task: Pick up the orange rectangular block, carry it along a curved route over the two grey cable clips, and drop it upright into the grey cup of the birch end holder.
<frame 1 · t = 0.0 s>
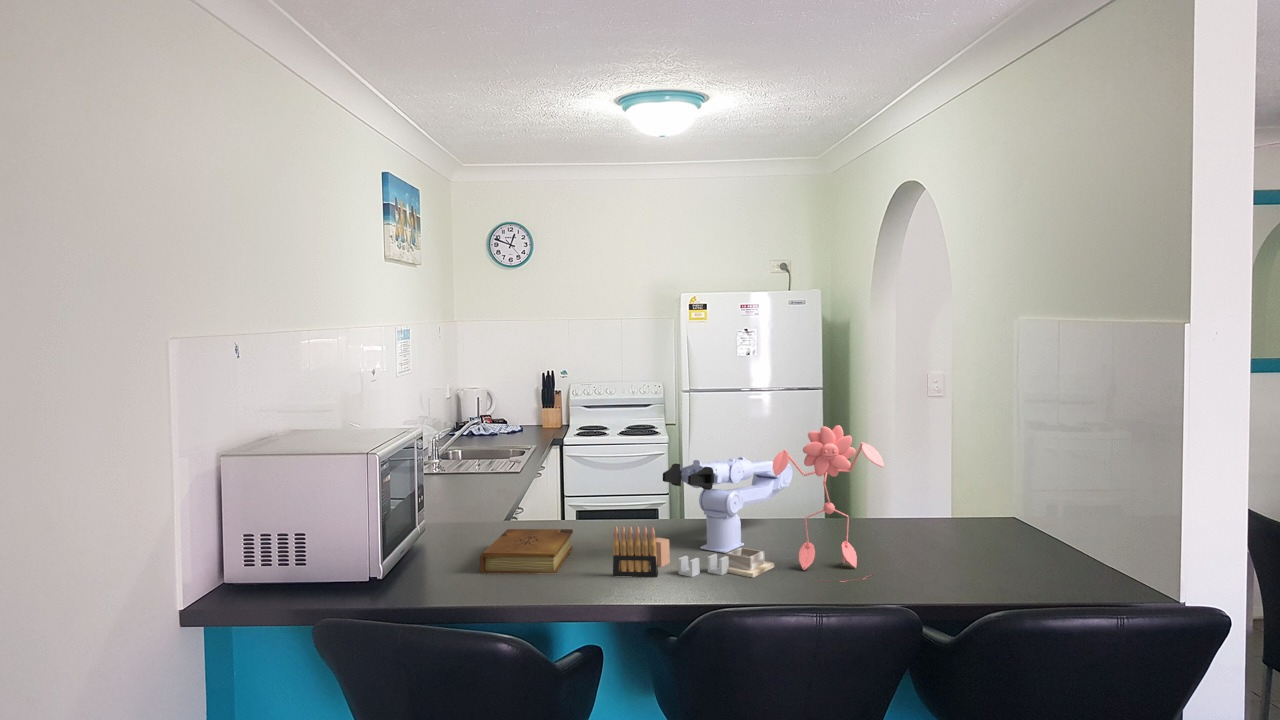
hand: (676, 478, 210), 22 cm above the countertop, tool horizontal, fingers open, 7 cm apart
diary: (529, 562, 220), on the countertop
cable clips: (703, 573, 205), on the countertop
end holder: (745, 568, 207), on the countertop
figurine: (830, 572, 203), on the countertop
orange rectangular block: (659, 563, 213), on the countertop
ammunition clip: (635, 576, 204), on the countertop
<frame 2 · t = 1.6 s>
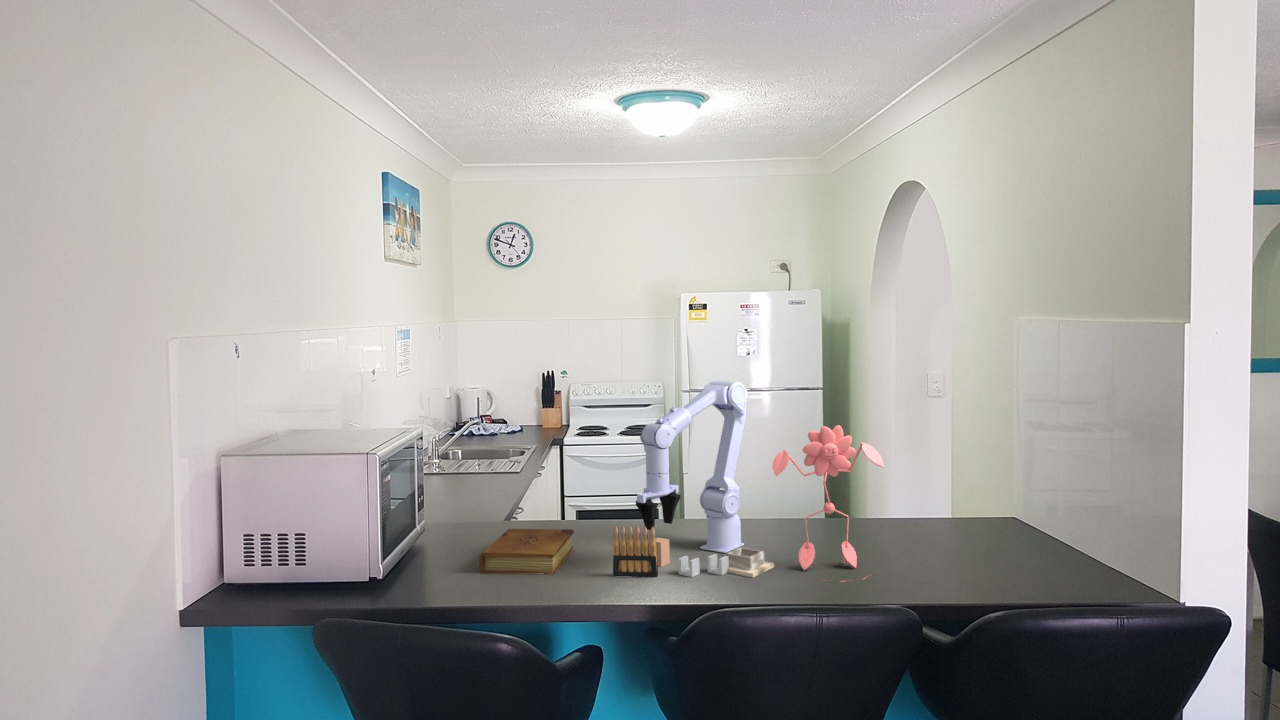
hand: (659, 526, 213), 9 cm above the countertop, tool pointing down, fingers open, 7 cm apart
nothing on the countertop moved.
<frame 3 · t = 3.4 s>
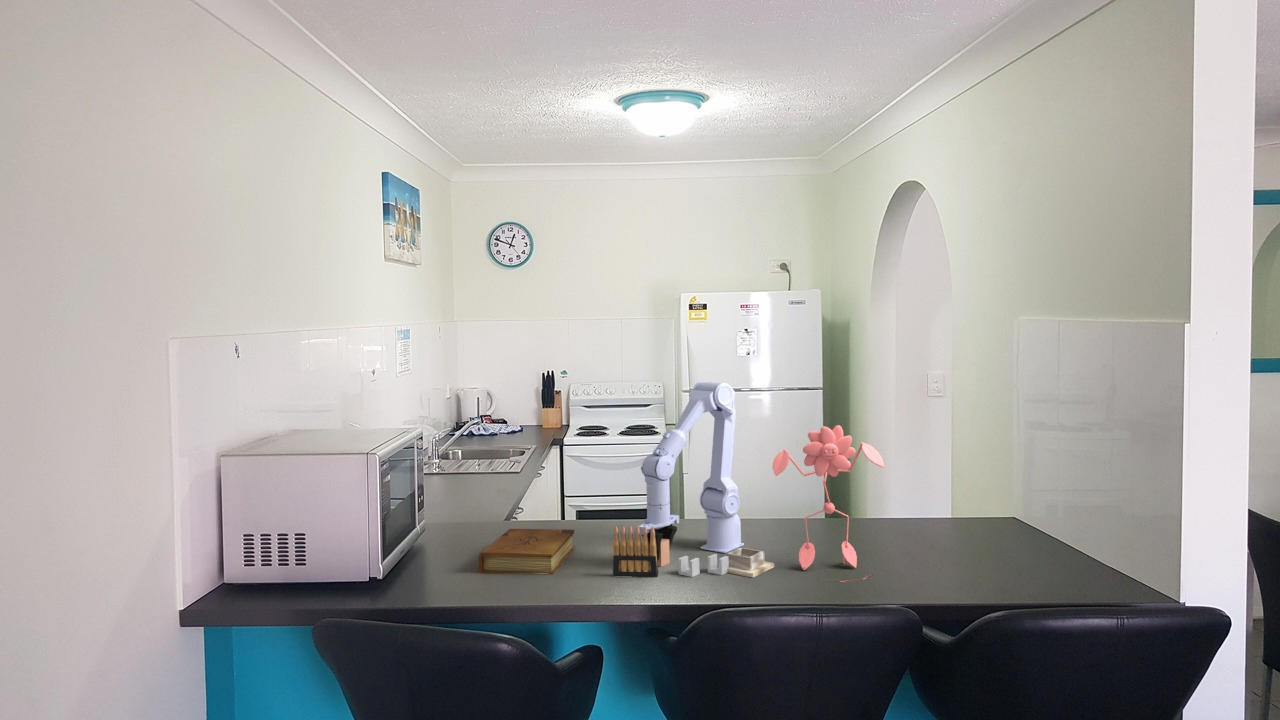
hand: (659, 557, 213), 2 cm above the countertop, tool pointing down, fingers closed on orange rectangular block, 3 cm apart
orange rectangular block: (659, 563, 213), on the countertop, touching gripper
everything else where it was.
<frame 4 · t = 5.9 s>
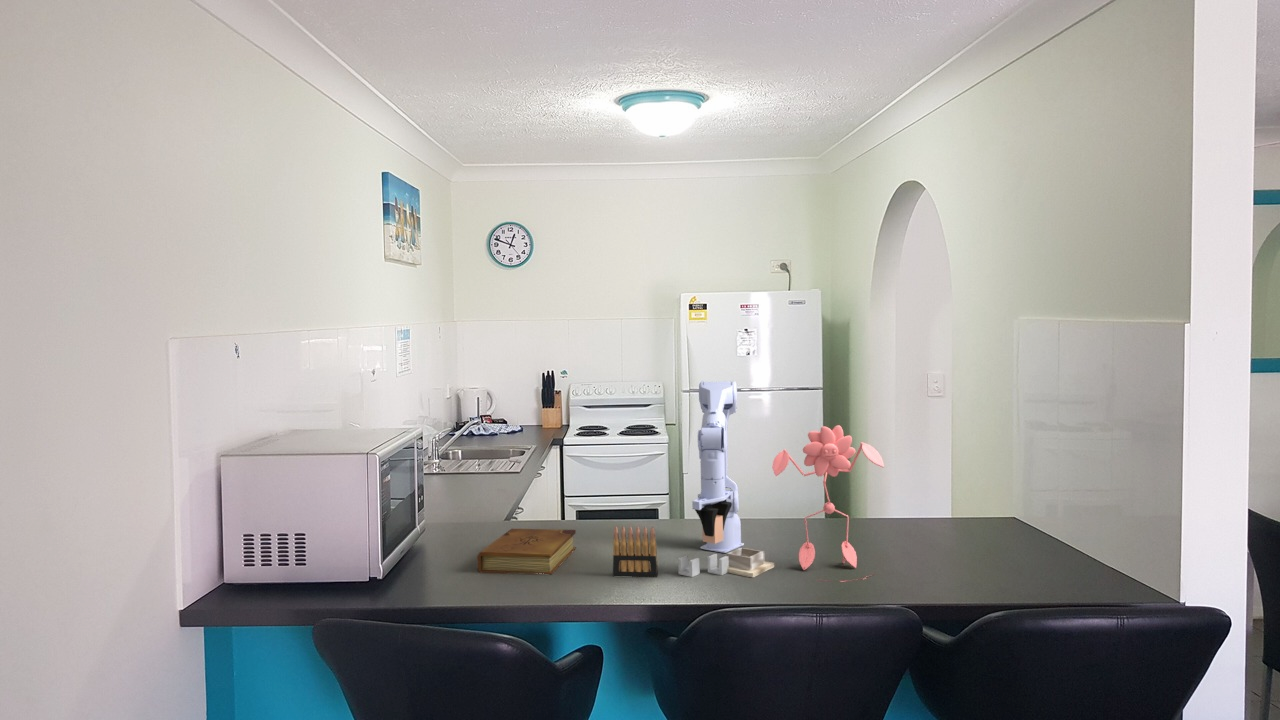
hand: (714, 533, 204), 9 cm above the countertop, tool pointing down, fingers closed on orange rectangular block, 3 cm apart
orange rectangular block: (713, 540, 205), point 8 cm above the countertop, touching gripper
everything else where it was.
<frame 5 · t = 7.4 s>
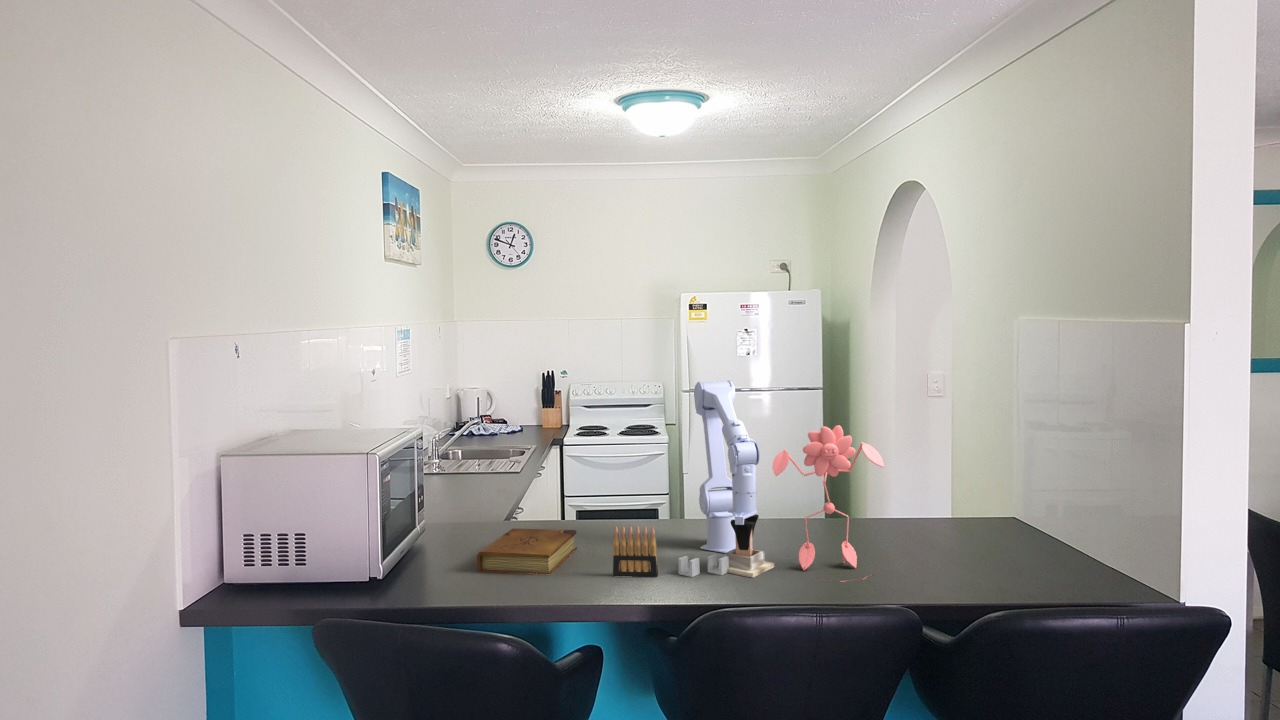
hand: (745, 547, 207), 5 cm above the countertop, tool pointing down, fingers closed on orange rectangular block, 3 cm apart
orange rectangular block: (744, 554, 207), point 4 cm above the countertop, touching gripper
everything else where it was.
when the fingers open (5 cm above the countertop, at t = 8.3 s): orange rectangular block drops 2 cm, resting on end holder.
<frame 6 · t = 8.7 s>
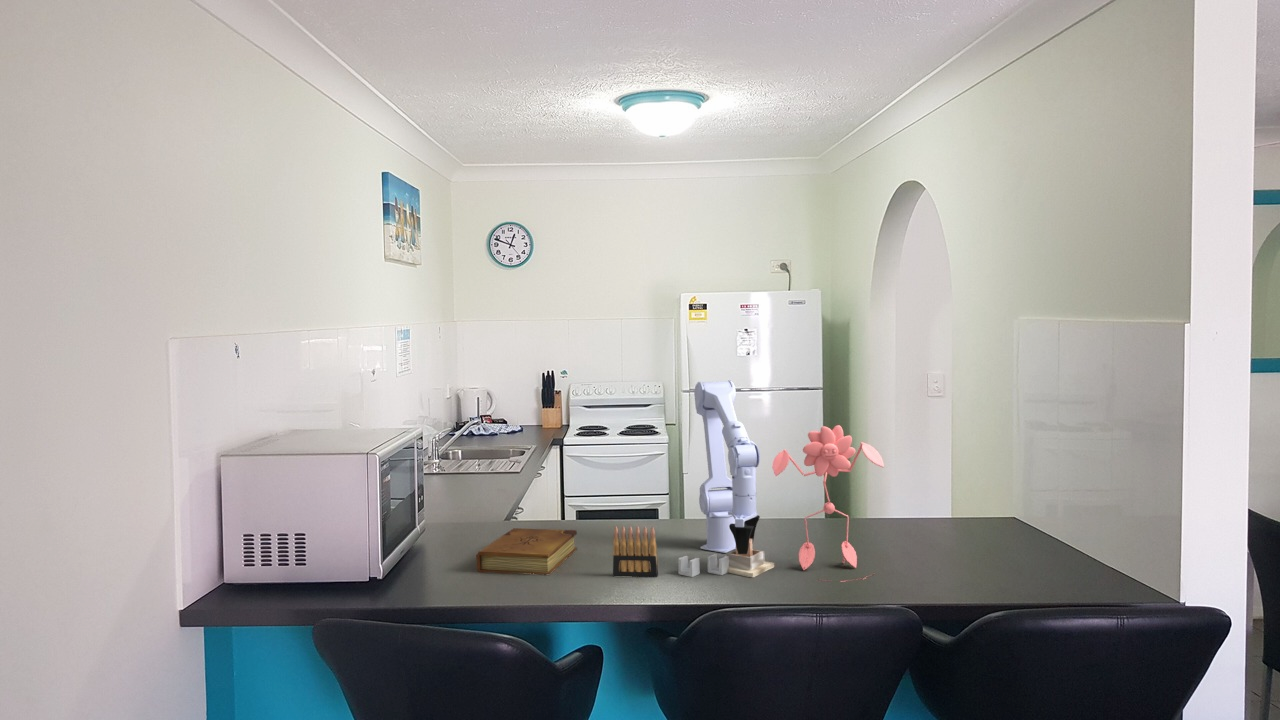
hand: (745, 549, 207), 5 cm above the countertop, tool pointing down, fingers open, 7 cm apart
orange rectangular block: (744, 564, 207), point 1 cm above the countertop, touching end holder
everything else where it was.
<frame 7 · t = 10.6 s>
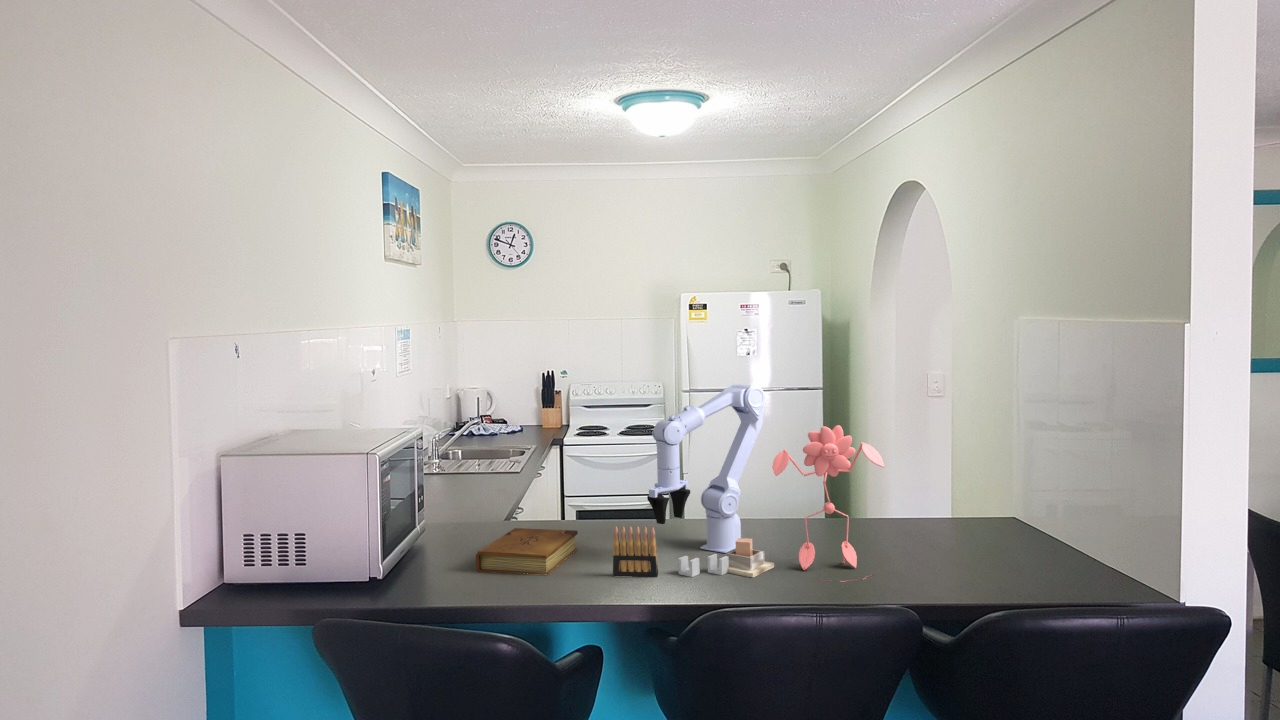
hand: (669, 520, 218), 9 cm above the countertop, tool pointing down, fingers open, 7 cm apart
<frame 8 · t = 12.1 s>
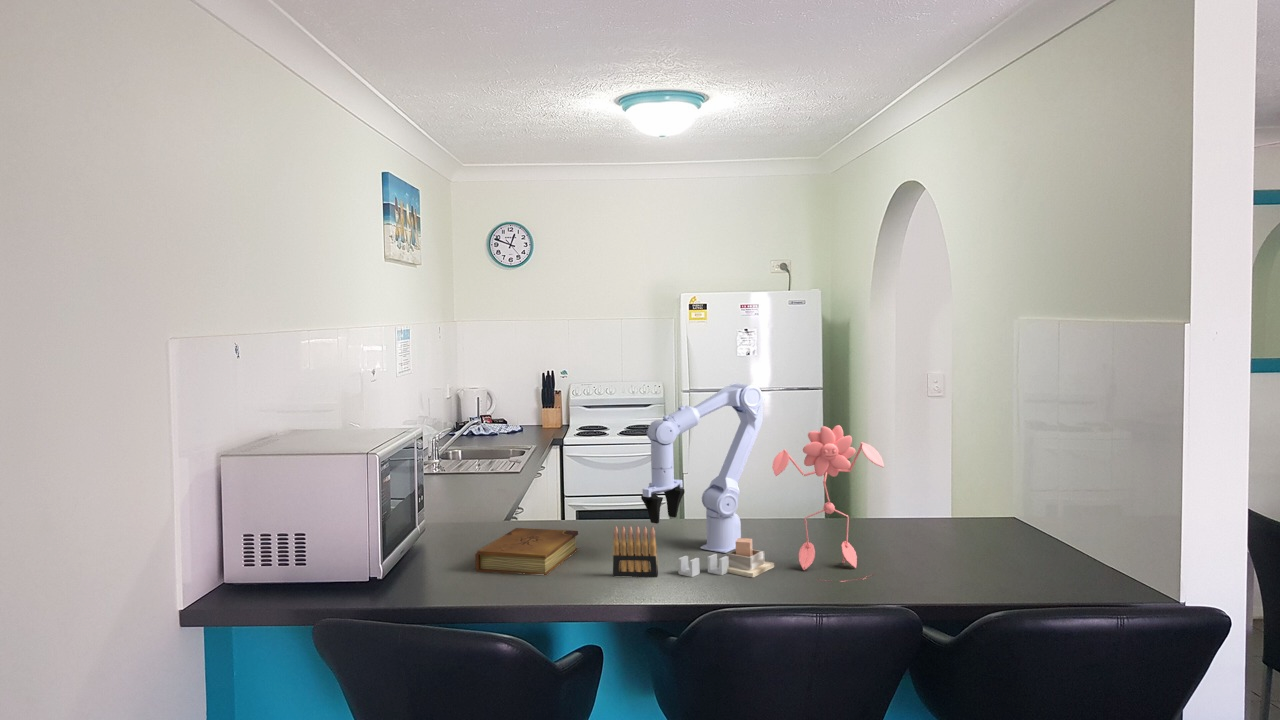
hand: (663, 519, 219), 9 cm above the countertop, tool pointing down, fingers open, 7 cm apart
at the end: orange rectangular block 0.3 cm off-centre on the end holder, point 1.0 cm above the end holder's base; orange rectangular block tilted 0°; the gripper is holding nothing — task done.
